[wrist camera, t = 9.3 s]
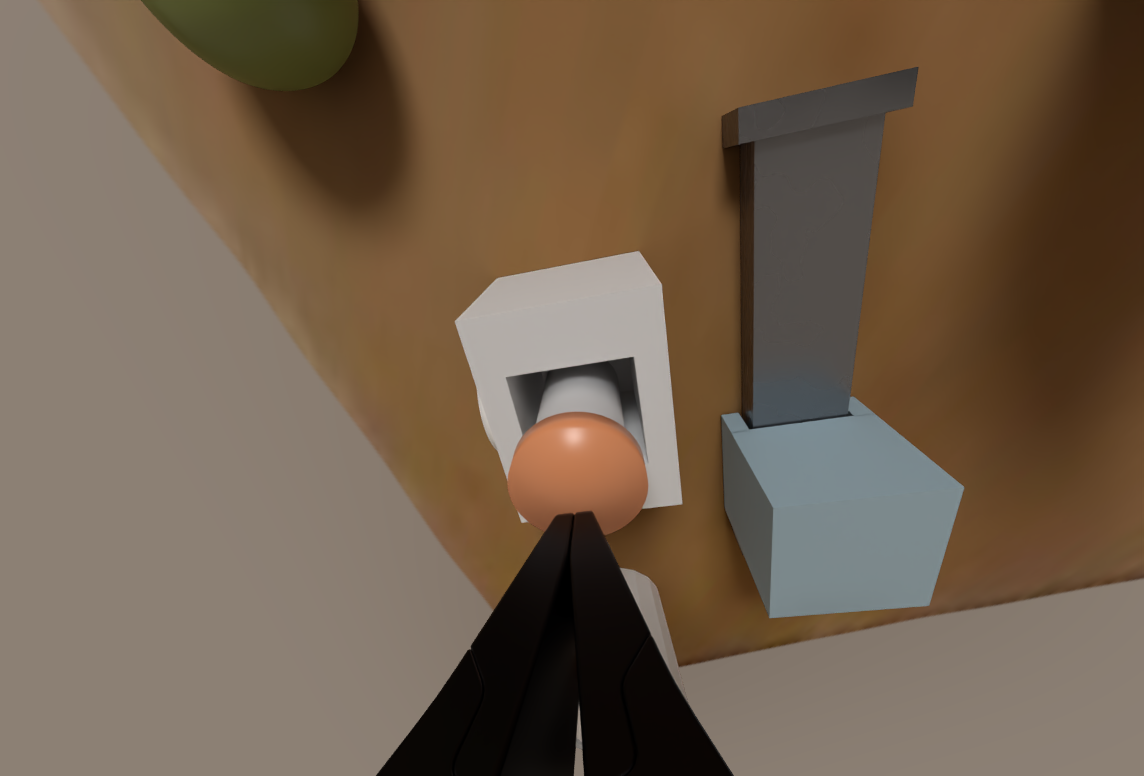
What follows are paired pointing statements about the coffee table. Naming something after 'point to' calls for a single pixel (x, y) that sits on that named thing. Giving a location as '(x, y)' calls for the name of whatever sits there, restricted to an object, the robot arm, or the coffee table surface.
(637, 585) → the shot glass
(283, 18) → the green eggplant
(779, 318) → the rail
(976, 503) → the coffee table surface
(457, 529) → the coffee table surface
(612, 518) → the button
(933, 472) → the block
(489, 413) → the cabinet
